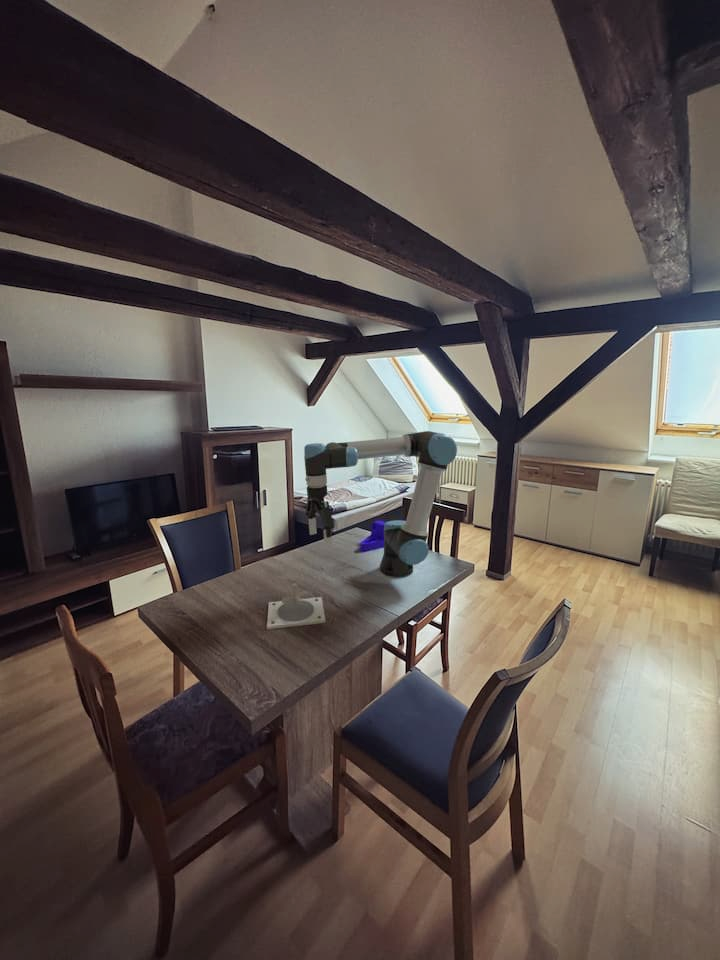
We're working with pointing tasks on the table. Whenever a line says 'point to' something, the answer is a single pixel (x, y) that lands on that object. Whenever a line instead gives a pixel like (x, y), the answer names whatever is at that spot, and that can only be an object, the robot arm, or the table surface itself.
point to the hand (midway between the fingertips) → (320, 539)
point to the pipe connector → (295, 596)
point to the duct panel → (295, 613)
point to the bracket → (374, 537)
